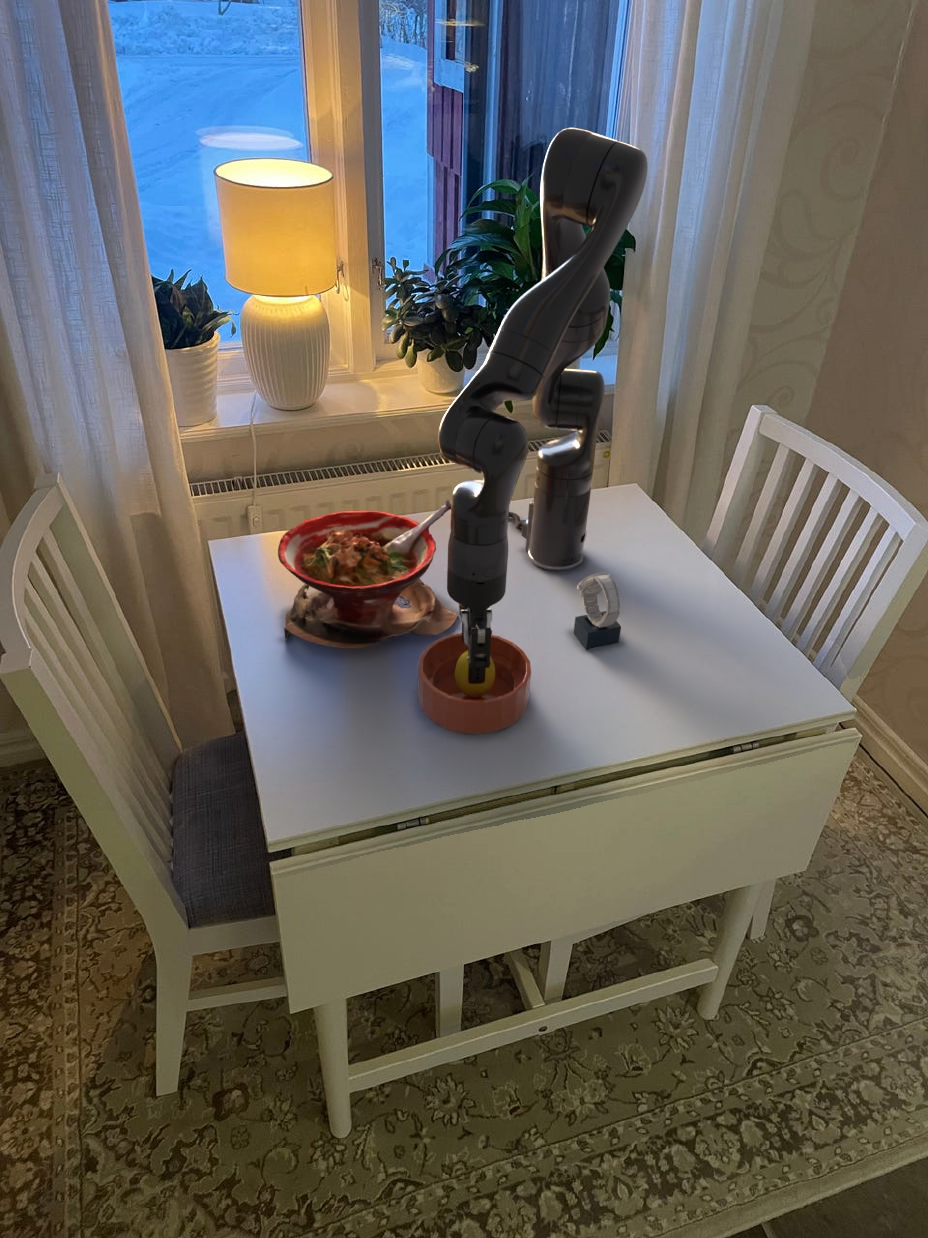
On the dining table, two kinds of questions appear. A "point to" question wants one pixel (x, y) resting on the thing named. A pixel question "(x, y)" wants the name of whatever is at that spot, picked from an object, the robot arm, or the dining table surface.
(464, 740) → the dining table surface
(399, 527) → the stew
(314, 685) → the dining table surface
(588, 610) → the watch
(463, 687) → the lemon
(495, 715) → the bowl
